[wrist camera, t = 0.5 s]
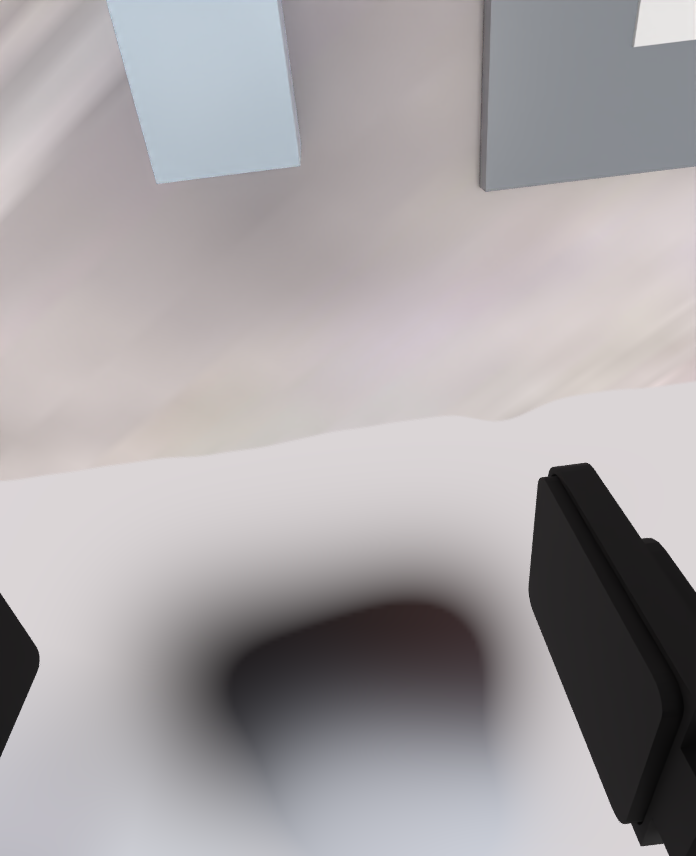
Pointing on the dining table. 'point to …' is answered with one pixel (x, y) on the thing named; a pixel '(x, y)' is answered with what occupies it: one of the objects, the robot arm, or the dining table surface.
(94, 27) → the dining table surface
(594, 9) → the baseplate
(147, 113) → the blue brick
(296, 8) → the dining table surface
